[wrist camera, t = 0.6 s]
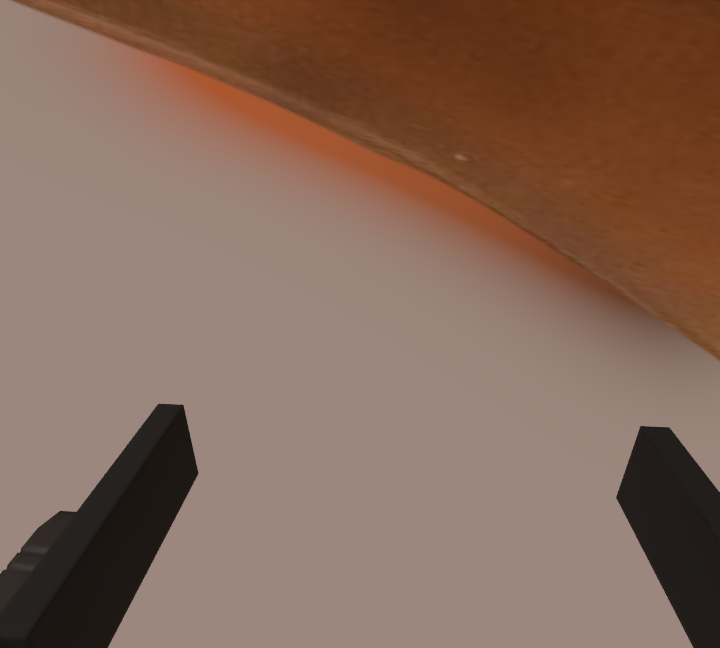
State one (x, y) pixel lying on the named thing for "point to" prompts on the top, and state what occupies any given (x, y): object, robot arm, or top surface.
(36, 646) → the robot arm
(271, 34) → the top surface
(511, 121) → the top surface
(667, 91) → the top surface
